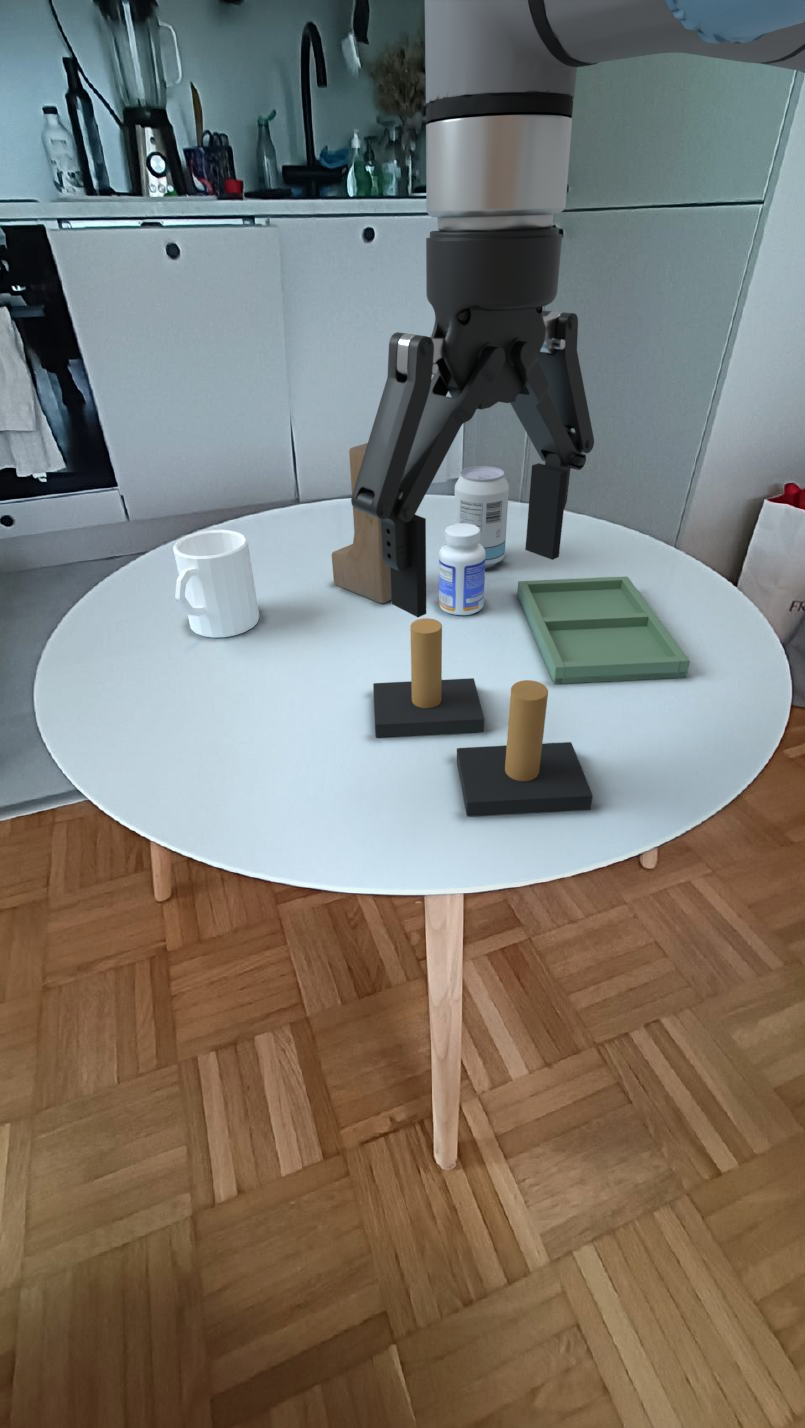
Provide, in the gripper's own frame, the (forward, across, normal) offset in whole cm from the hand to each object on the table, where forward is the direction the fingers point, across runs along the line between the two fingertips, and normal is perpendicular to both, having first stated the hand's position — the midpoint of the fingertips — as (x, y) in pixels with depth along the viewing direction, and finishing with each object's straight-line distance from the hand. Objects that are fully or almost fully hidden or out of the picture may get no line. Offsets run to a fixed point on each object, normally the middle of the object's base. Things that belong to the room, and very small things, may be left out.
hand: (479, 579), depth 52 cm
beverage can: (+18, -32, -30) cm, 47 cm away
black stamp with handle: (+18, -2, +4) cm, 18 cm away
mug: (+18, +4, -38) cm, 42 cm away
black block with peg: (+18, -3, -9) cm, 20 cm away
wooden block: (+18, -16, -34) cm, 41 cm away
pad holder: (+18, -27, -8) cm, 33 cm away
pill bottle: (+18, -21, -23) cm, 35 cm away
